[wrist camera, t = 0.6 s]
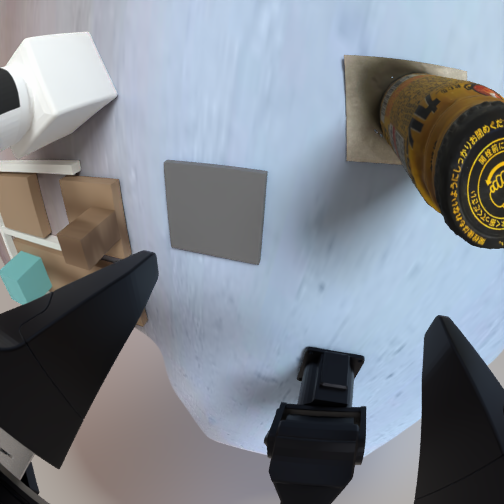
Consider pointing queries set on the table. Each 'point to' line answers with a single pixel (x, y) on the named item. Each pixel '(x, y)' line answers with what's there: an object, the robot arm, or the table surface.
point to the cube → (25, 278)
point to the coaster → (216, 209)
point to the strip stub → (92, 221)
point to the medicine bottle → (50, 90)
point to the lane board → (28, 201)
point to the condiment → (432, 138)
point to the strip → (62, 267)
